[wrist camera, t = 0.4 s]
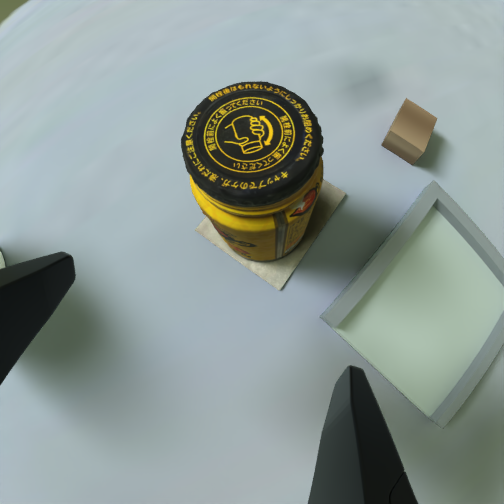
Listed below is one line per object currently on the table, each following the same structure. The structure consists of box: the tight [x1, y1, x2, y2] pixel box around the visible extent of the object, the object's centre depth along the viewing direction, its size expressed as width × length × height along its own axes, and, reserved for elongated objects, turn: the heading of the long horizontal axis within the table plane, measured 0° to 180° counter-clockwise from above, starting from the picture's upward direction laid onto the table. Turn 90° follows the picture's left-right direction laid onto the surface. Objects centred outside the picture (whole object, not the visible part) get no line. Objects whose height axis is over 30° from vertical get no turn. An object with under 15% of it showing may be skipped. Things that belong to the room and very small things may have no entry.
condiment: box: [181, 81, 346, 290], centre depth 17 cm, size 7×8×12 cm
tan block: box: [382, 98, 437, 165], centre depth 22 cm, size 4×3×2 cm
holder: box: [320, 181, 504, 428], centre depth 20 cm, size 13×13×2 cm
